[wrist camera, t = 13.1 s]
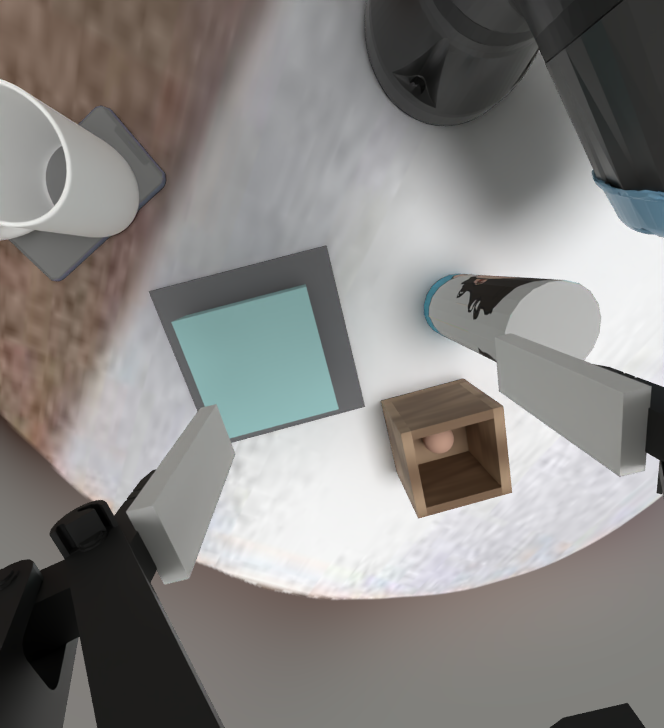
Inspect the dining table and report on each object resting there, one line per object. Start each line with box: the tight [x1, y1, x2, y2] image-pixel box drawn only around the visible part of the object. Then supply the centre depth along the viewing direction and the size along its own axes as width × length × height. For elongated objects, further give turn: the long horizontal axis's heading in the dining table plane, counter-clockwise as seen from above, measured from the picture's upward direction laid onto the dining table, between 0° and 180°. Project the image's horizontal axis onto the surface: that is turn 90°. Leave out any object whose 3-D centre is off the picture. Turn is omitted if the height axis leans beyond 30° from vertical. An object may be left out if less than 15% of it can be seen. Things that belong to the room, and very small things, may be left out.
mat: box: [149, 246, 365, 443], centre depth 36 cm, size 18×18×1 cm
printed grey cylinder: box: [424, 274, 601, 362], centre depth 30 cm, size 7×7×15 cm
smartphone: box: [8, 106, 166, 281], centre depth 31 cm, size 8×1×15 cm
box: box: [381, 379, 512, 518], centre depth 37 cm, size 10×10×8 cm
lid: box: [171, 284, 339, 439], centre depth 33 cm, size 12×12×5 cm
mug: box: [0, 79, 139, 240], centre depth 26 cm, size 12×8×10 cm
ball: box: [422, 430, 454, 454], centre depth 38 cm, size 3×3×3 cm
